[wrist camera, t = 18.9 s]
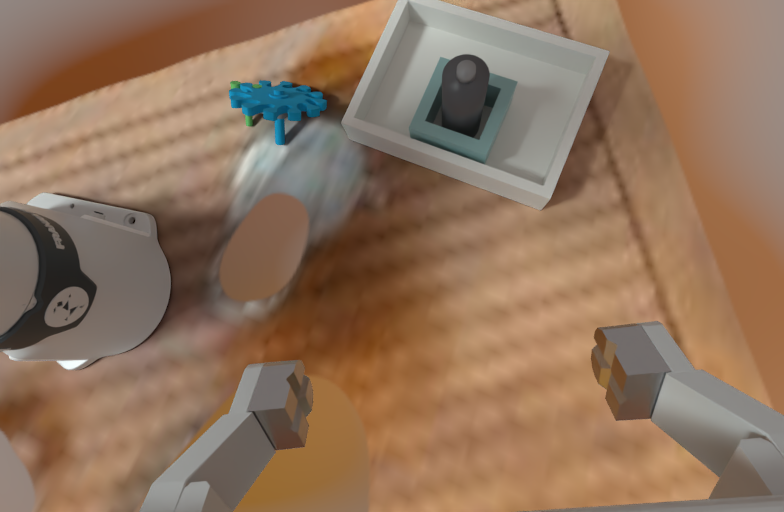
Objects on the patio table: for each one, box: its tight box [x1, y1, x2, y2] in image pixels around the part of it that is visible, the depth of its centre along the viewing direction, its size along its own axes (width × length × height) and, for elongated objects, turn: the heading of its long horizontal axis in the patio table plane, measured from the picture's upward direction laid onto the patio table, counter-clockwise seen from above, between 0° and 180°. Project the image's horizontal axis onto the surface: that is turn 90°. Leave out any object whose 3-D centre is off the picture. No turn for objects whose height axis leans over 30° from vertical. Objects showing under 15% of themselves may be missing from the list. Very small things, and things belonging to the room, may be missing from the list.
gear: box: [229, 81, 327, 145], centre depth 46 cm, size 11×6×10 cm
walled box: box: [341, 0, 610, 211], centre depth 44 cm, size 22×16×5 cm
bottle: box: [442, 54, 490, 138], centre depth 40 cm, size 4×4×10 cm
